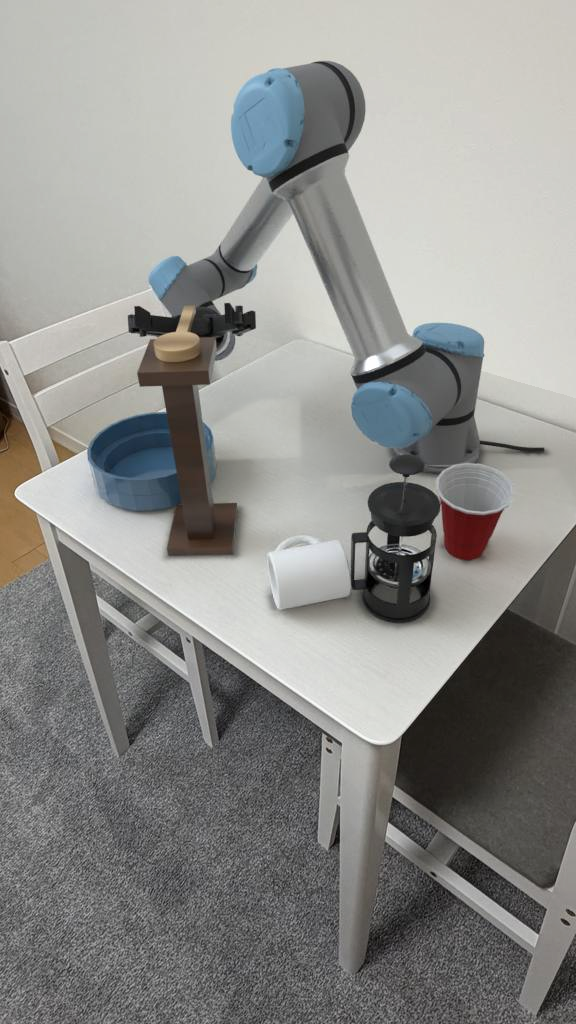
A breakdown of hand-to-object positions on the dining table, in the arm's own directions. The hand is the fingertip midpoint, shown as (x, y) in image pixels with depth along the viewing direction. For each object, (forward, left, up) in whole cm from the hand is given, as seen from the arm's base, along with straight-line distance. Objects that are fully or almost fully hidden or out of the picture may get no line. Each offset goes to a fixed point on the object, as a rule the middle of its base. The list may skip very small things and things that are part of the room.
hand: (182, 314), depth 94 cm
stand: (0, +7, -33) cm, 34 cm away
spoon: (0, +2, -2) cm, 3 cm away
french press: (-28, +23, -33) cm, 49 cm away
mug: (-16, +20, -33) cm, 42 cm away
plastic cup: (-40, +13, -33) cm, 53 cm away
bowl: (+10, -8, -33) cm, 35 cm away
